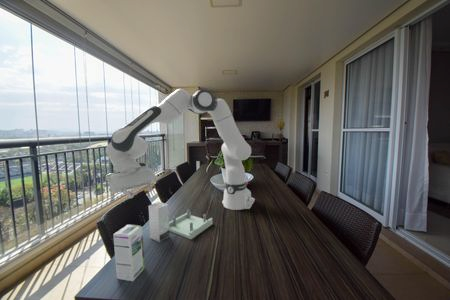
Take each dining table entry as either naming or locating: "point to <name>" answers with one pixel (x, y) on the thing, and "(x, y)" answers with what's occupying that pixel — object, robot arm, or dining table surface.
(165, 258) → the dining table surface
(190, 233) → the pin tray
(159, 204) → the white carton
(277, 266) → the dining table surface
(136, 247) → the syrup box
